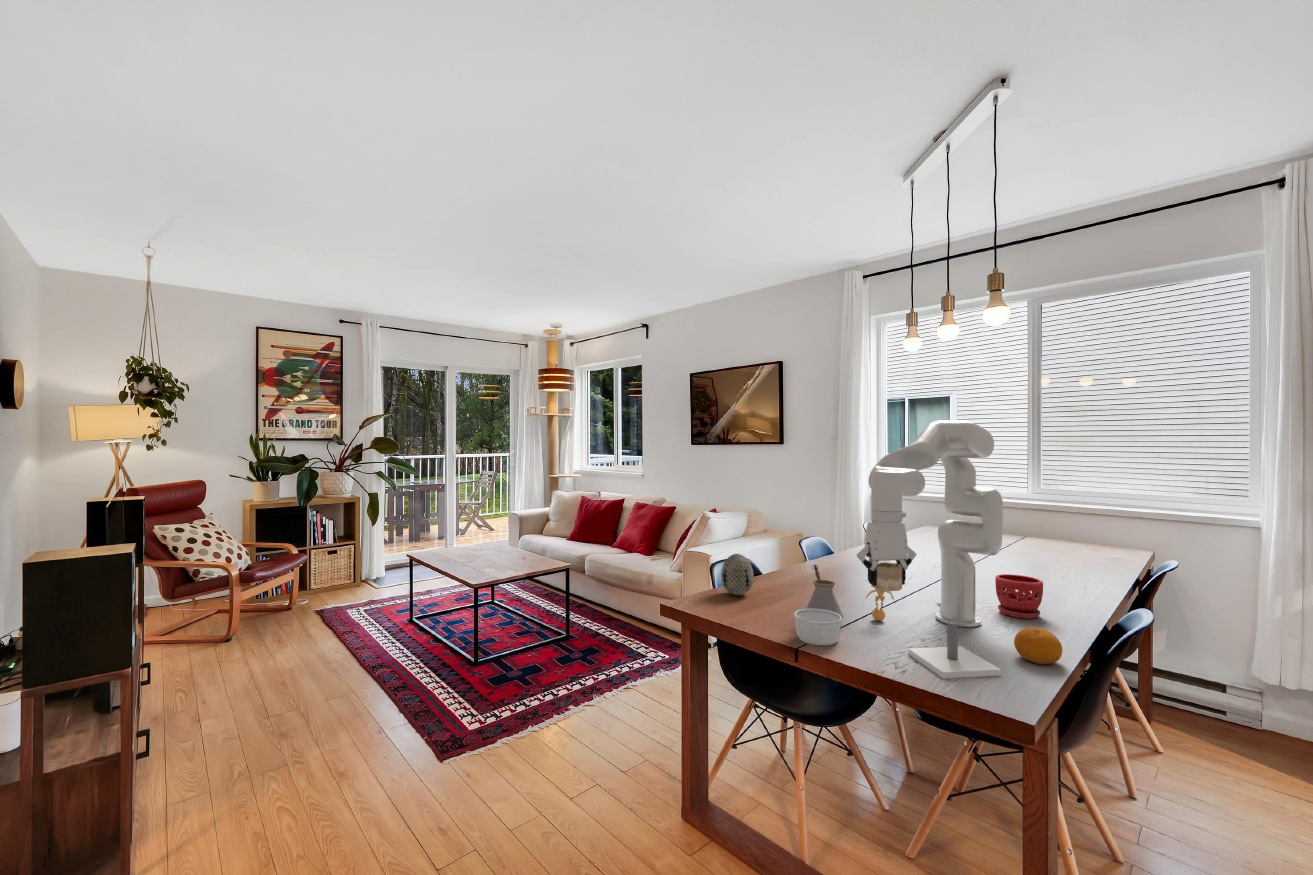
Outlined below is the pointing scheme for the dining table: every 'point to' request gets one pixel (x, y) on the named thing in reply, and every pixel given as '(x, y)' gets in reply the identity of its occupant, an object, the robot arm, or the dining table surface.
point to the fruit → (1038, 645)
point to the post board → (953, 659)
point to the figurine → (877, 612)
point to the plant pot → (1019, 595)
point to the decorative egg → (737, 574)
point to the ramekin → (818, 626)
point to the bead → (888, 576)
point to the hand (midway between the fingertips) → (886, 583)
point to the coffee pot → (823, 595)
